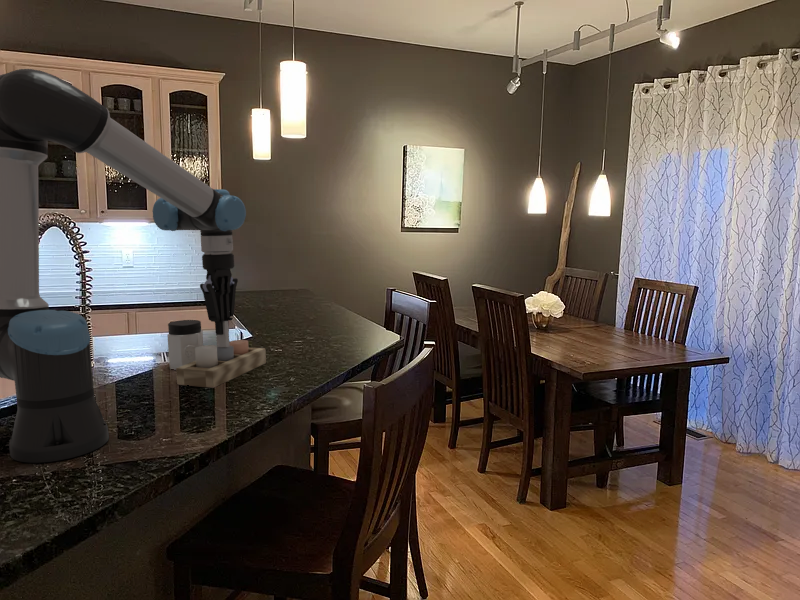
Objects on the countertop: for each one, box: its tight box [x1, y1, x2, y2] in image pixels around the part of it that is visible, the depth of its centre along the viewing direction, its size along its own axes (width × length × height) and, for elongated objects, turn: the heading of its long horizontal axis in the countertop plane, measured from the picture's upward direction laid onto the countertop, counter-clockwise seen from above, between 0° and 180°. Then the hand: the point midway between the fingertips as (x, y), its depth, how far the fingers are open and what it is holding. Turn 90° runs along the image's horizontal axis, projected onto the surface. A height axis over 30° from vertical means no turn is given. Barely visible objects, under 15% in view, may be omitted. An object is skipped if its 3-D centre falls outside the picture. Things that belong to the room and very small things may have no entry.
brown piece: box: [229, 339, 249, 355], centre depth 159 cm, size 5×5×5 cm
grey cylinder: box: [217, 346, 234, 361], centre depth 153 cm, size 5×5×5 cm
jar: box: [167, 319, 204, 371], centre depth 159 cm, size 9×8×12 cm
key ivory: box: [195, 344, 218, 368], centre depth 146 cm, size 5×5×5 cm
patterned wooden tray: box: [175, 346, 267, 389], centre depth 153 cm, size 24×10×4 cm, turn 163°
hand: (223, 346), depth 152 cm, fingers closed
